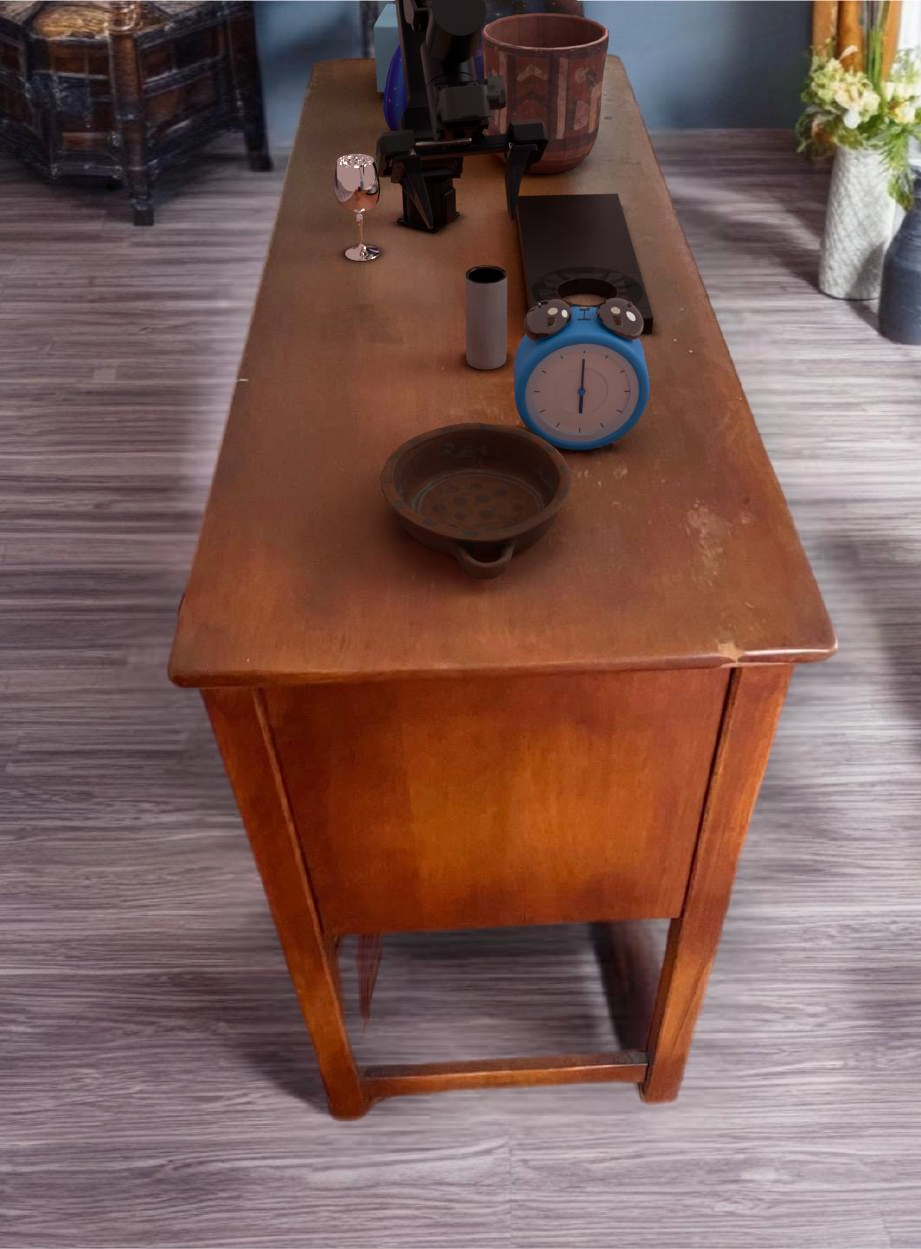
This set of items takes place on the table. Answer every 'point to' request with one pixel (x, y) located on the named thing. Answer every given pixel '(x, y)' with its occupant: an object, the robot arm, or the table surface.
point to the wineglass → (357, 195)
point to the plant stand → (579, 250)
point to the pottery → (549, 81)
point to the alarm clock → (581, 373)
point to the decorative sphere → (509, 3)
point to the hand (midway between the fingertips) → (472, 223)
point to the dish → (476, 491)
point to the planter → (486, 316)
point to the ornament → (394, 92)
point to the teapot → (385, 43)
